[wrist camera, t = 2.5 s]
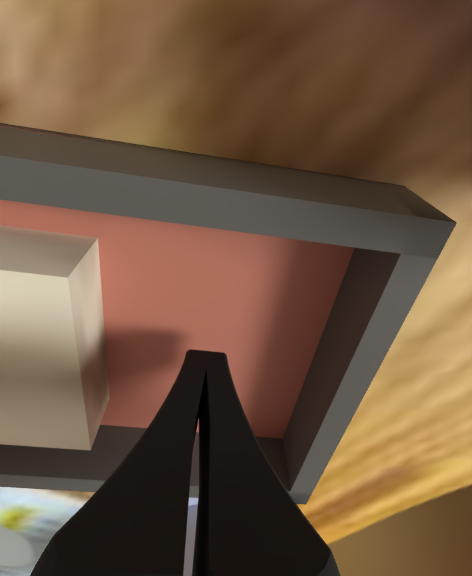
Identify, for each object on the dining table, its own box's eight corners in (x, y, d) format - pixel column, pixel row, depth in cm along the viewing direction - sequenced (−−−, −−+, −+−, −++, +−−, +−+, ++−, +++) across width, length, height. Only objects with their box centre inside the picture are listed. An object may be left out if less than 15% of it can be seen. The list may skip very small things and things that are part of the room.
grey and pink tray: (295, 443, 18) (305, 504, 16) (-43, 418, 17) (-91, 481, 14) (403, 186, 11) (456, 222, 8) (-192, 93, 9) (-351, 103, 7)
